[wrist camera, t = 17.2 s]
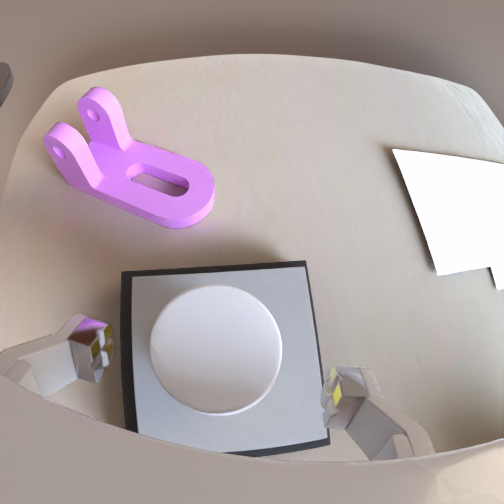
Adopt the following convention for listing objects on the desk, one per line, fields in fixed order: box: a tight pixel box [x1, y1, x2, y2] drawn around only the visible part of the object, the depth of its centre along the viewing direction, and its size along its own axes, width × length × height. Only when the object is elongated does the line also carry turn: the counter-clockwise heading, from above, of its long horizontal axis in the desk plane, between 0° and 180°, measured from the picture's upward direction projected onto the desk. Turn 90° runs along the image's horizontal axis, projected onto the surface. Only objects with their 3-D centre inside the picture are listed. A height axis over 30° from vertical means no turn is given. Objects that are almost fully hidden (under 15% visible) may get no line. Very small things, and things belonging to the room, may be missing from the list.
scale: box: [120, 260, 330, 457], centre depth 18 cm, size 12×12×3 cm
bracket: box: [43, 87, 215, 228], centre depth 21 cm, size 13×6×7 cm, turn 67°
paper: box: [392, 149, 504, 290], centre depth 26 cm, size 25×17×1 cm
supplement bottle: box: [149, 284, 282, 416], centre depth 12 cm, size 5×5×8 cm
